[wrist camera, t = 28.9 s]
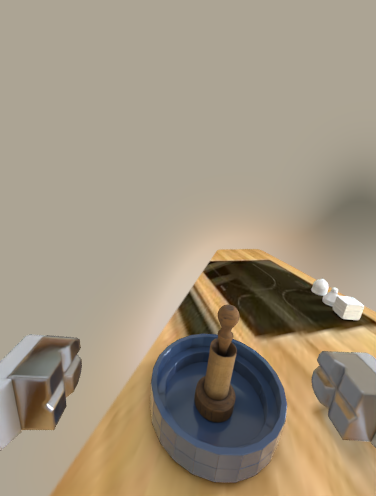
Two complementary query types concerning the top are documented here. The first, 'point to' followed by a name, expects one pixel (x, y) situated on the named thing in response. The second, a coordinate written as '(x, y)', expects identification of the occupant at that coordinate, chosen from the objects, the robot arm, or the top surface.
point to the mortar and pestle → (219, 371)
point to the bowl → (217, 433)
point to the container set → (338, 301)
